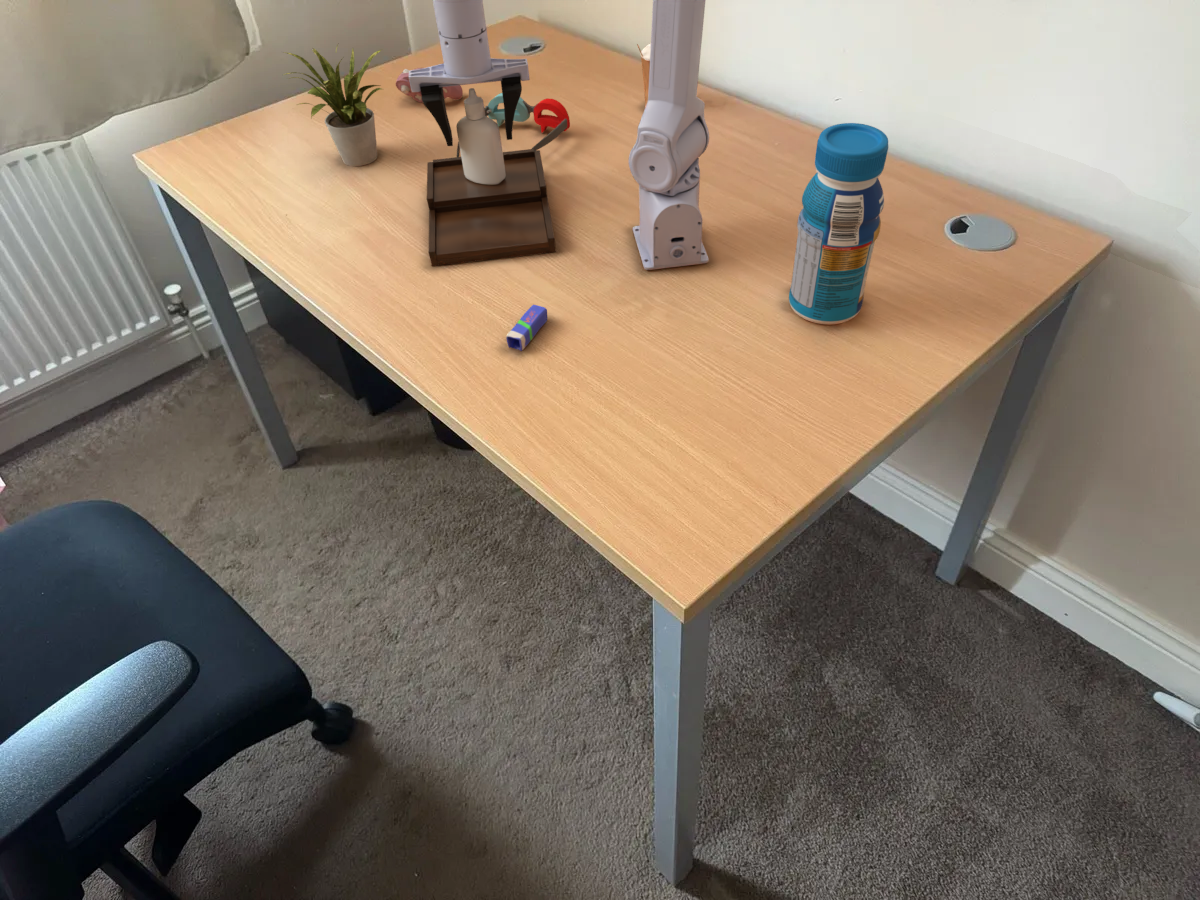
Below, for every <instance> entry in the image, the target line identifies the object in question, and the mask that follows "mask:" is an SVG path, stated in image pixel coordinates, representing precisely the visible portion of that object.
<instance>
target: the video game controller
mask: <svg viewBox="0 0 1200 900" xmlns="http://www.w3.org/2000/svg"><path fill="white" fill-rule="evenodd" d="M422 68H423V67H417V68H414V69H413V68H412V70H417V69H422ZM409 71H410V70H409V69H408V68H403V71H402V72H401V73H400V74H399V75H398V76H397V78H396V81H395V87H396V89H397V90H398V91H399V92H401V93H402V94H404V95H406V96H408V97H411V98H412V99H413V100H415V101H416V102H418V103H422V104H424V103H423V101H422V95H421V91H420V92H412V91H411V86H410V81H409ZM443 94H444V100H445V99H451V100H456V101H457V100H461V99H462V97H463V96H464V95H463V94H464V91H463V88H462V85H458V86H448V87H443Z"/></svg>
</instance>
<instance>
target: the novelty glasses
mask: <svg viewBox="0 0 1200 900" xmlns="http://www.w3.org/2000/svg"><path fill="white" fill-rule="evenodd" d="M500 104H504V102H503V95H502V92H500V93H498V94H496V95H495V96H494V97H493V98H492V99H490V101H489V102H488V104H487V105H485V106H484V110H485V116H487V117H489V118H490V119H492V120H493V121H496V123H497V125H498V127H499V128H500V127H501V126H502V125H503V124H505V114H504V108H499V105H500ZM543 111H549V112H552V113H553V114H554V115H552V114H543ZM531 113H533V121H534V123H535V124H536V125H538V126H540V131H541V132H540V133H541V134H543V133H544V132H545V131H546V130H547V128H552V129H553V130H551V131H550V132H549V133H548V134H547V135H545V136H544V137H543V138H542V139H540V140H539V141H538V142H537V143H536V144H535V145H534V146H532V147H531V149H534V151H537V150H540V149H542V148H544V147H545V146H547V145H548V144H549V143H551V142H552V141H554V140H555V139H557V137H559V136H560V135H561V134H562V133H563V132H567V131H568V129H570V127H571V121H570V116H569V113H568V111H567V109H566V107H565V106H564V105H563V104H562V103H561V102H560V101H559V100H557V99H555V98H544V99H542V100H540V101H539V102H538V103H536V104H535V105H534V106H533V105H530V104H529V103H528V102H527V101H525V100H524V99H523V98H522V97H521V96H520V98H519V101H518V104H517V107H516V110H515V114H514V120H513V122H517V123H518V122H519V123H524V122H526V121H527V120H528V119H530V117H531ZM460 154H461V153H460V147H459V141H458V140H457V148H456V157H460Z"/></svg>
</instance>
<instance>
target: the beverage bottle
mask: <svg viewBox="0 0 1200 900" xmlns="http://www.w3.org/2000/svg"><path fill="white" fill-rule="evenodd" d="M816 142H817V143H816V148H815V149H816V150H815V157H814V167H815V168H814V169H815V171H816V172H815V174H814V175H813V176H812V177H811V179H810V180H809V181H808V183H807V185H806V186H805V188H804V191H803V193H802V197H801V205H802V207H803V208H802V209H801V210H800V211H799V214H798V217H797V225H796V227H797V237H796V246H795V253H794V262H793V270H792V277H791V282H790V283H791V284H790V287H789V293H788V303H789V306H790V308H791V310H792V311H793V312H794V313H795V314H796V315H797V316H799V317H800V318H801V319H803V320H806V321H808V322H810V323H815V324H819V325H838V324H842V323H847V322H848V321H850V320H853V319H854V318H855V317H856V316H858V314H859V313H860V311H861V310H862V307H863V303H864V295H865V288H866V283H867V278H868V274H869V269H870V265H871V261H872V256H873V252H874V247H875V244H876V243H875V242H876V241H877V240H878V237H879V236H880V232H881V225H882V224H881V216H880V214H881V213H882V212H883V209H884V206H885V196H884V190H883V186H882V184H881V181H880V179H879V178H880V176H881V175H882V173H883V171H884V168H885V164H886V160H887V155H888V151H889V138H888V136H887V135H886V133H885V132H884V131H882V130H881V129H879V128H877V127H875V126H872V125H869V124H865V123H859V122H858V123H857V122H843V123H837V124H833V125H830V126H827V127H826V128H825V129H823V130H822V131H821V132H820V134H819V136H818V139H817V141H816Z"/></svg>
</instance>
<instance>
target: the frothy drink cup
mask: <svg viewBox="0 0 1200 900" xmlns="http://www.w3.org/2000/svg"><path fill="white" fill-rule="evenodd" d="M636 46H637V48H638V51H639V54H640V60H641V61H640V62H641V71H642V79H643V80H642V81H643V92H644V93H643V94H644V104H645V106H646V105H647V102H648V91H649V71H650V50H651V43H648V44H646V46H645V47H644V48H642V50H641V48H640V45H639V44H638V43H636Z"/></svg>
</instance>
